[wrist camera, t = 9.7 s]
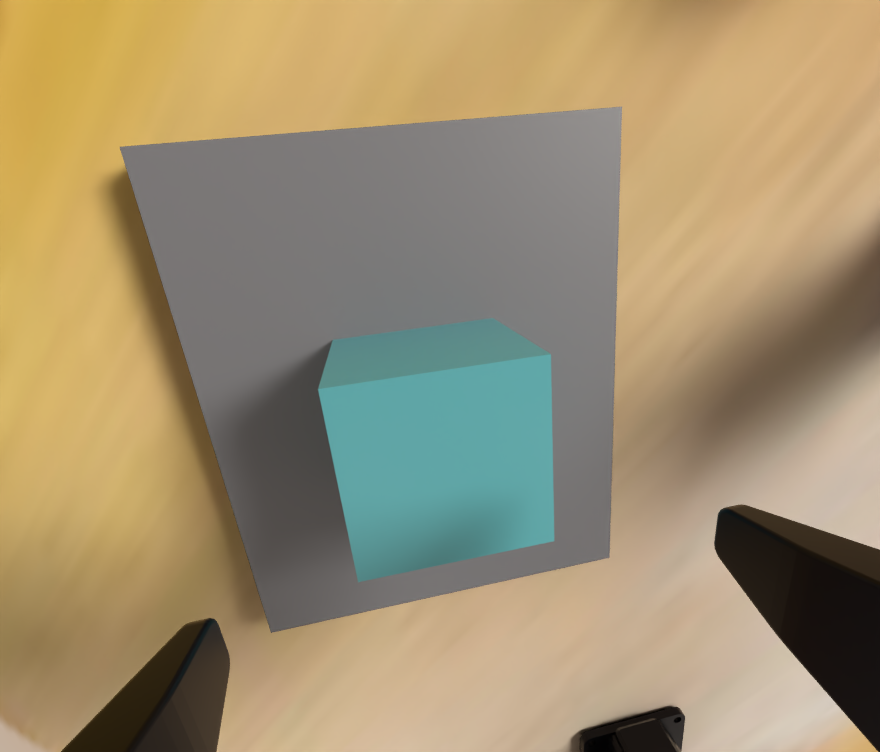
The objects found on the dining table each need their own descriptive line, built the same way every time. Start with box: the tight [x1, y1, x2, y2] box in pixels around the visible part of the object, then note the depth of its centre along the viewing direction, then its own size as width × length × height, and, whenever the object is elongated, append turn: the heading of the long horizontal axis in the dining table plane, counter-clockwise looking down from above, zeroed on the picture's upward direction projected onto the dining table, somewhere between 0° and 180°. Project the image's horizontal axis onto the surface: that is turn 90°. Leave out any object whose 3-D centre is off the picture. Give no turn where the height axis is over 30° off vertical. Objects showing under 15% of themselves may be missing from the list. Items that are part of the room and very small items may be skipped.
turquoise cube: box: [318, 318, 554, 582], centre depth 13 cm, size 6×6×5 cm
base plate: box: [120, 107, 622, 633], centre depth 16 cm, size 18×15×2 cm
